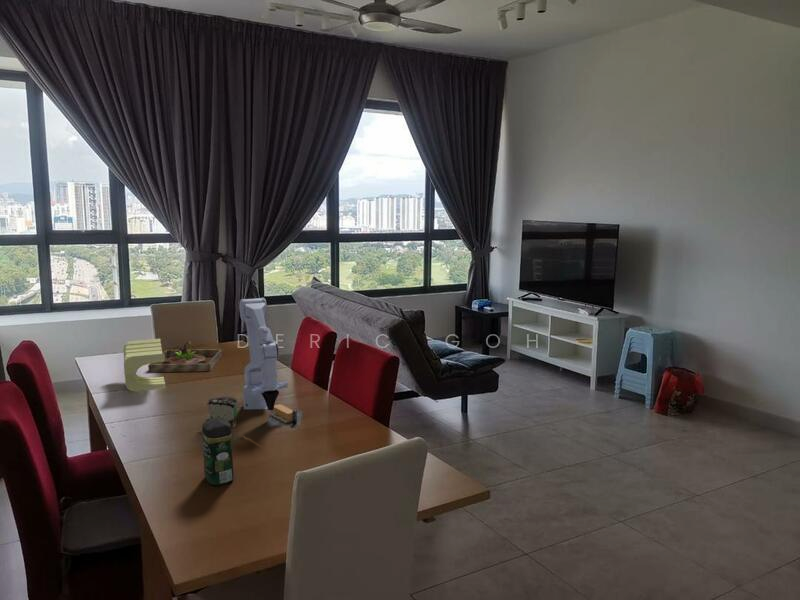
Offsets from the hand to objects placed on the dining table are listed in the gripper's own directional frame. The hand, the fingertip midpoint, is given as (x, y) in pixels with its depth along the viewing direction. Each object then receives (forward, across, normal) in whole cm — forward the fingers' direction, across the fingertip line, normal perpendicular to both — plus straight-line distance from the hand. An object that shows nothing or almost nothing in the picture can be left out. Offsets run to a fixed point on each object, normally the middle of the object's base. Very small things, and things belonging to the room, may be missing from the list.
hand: (270, 409), depth 232 cm
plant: (+5, +9, +100) cm, 100 cm away
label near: (+4, +5, -4) cm, 7 cm away
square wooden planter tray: (+4, +9, +98) cm, 99 cm away
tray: (+4, +5, -2) cm, 7 cm away
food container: (+5, -14, +7) cm, 17 cm away
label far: (+4, +5, +1) cm, 6 cm away
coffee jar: (+5, -37, -33) cm, 49 cm away
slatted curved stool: (+4, -20, +74) cm, 77 cm away
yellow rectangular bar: (+3, +5, -1) cm, 6 cm away
